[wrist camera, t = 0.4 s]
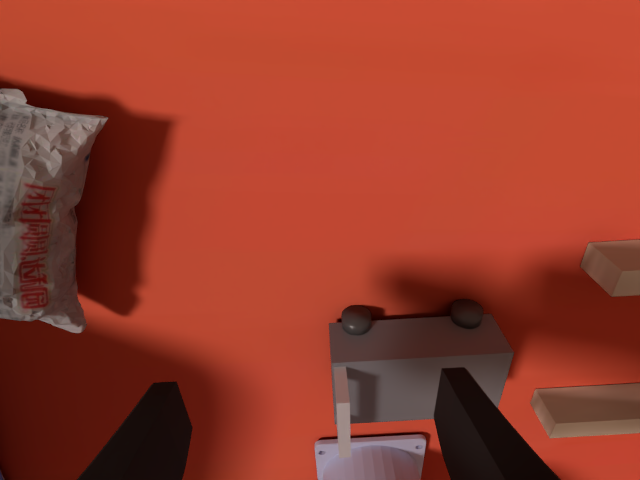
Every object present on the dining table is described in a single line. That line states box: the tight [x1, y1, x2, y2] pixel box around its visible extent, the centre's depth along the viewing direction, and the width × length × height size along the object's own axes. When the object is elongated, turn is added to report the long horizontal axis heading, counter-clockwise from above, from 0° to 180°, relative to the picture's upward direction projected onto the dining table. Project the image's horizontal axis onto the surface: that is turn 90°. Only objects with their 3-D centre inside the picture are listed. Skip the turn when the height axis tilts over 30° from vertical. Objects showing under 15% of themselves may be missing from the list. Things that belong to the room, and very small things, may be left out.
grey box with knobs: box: [329, 299, 514, 458], centre depth 21 cm, size 6×9×5 cm
